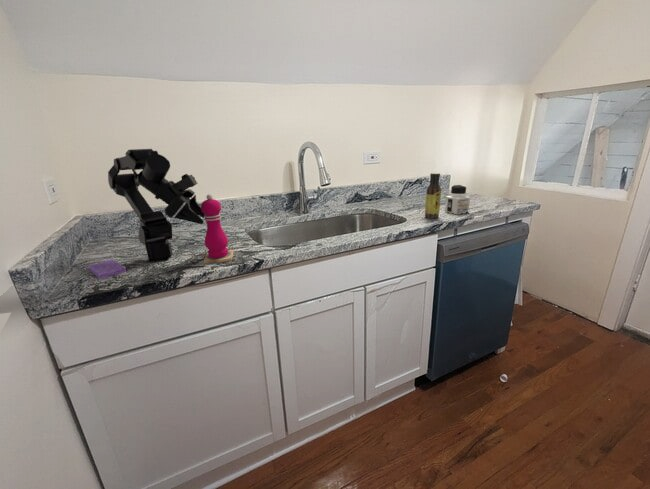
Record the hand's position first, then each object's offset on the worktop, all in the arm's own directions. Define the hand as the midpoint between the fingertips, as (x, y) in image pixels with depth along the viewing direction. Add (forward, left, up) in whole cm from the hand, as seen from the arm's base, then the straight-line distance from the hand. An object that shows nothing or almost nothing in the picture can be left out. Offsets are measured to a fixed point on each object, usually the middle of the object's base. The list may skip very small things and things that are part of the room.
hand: (204, 219), depth 97 cm
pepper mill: (+2, 0, -12) cm, 13 cm away
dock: (+3, 0, -13) cm, 13 cm away
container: (+110, +31, -13) cm, 115 cm away
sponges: (-31, -1, -14) cm, 33 cm away
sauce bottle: (+94, +26, -13) cm, 99 cm away
